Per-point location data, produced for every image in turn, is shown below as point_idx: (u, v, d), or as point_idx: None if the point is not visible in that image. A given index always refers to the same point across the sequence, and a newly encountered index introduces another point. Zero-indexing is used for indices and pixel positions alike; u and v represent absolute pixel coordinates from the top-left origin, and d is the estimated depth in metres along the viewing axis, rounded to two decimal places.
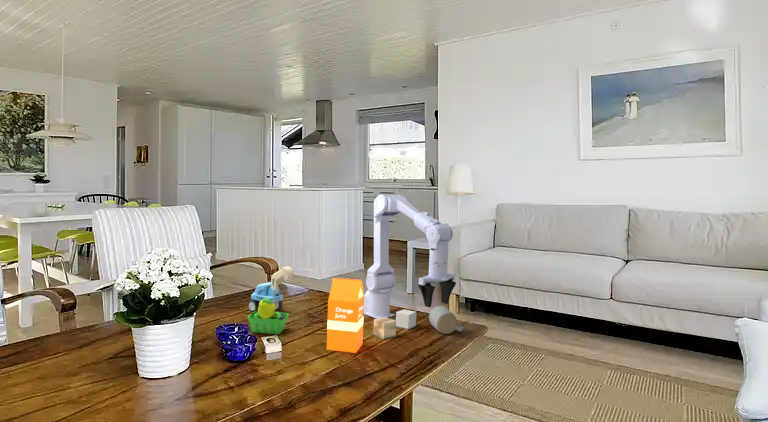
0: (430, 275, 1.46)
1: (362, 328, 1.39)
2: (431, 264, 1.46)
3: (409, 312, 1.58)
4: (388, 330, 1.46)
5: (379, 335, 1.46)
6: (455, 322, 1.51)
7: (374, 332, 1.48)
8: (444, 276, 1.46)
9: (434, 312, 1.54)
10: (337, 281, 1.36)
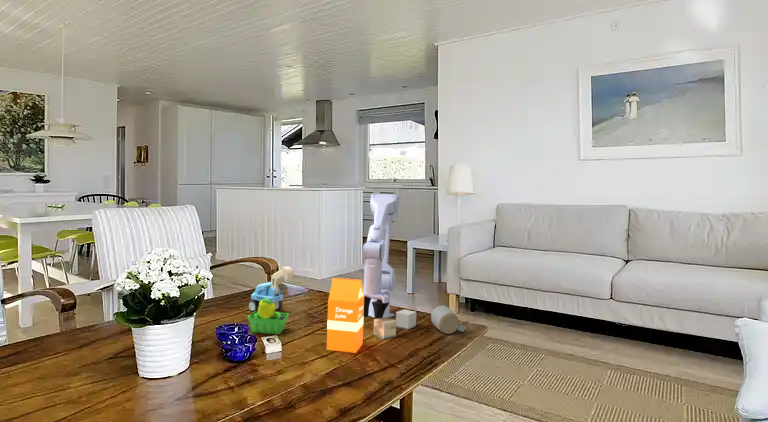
0: None
1: (362, 328, 1.39)
2: None
3: (409, 312, 1.58)
4: (388, 330, 1.45)
5: (379, 335, 1.46)
6: (457, 322, 1.51)
7: (374, 332, 1.48)
8: (365, 292, 1.50)
9: (436, 312, 1.54)
10: (337, 281, 1.36)
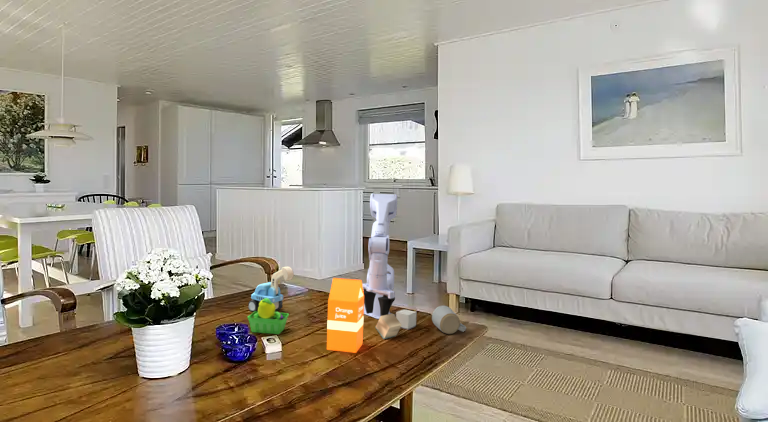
0: None
1: (362, 328, 1.39)
2: None
3: (409, 312, 1.58)
4: (391, 332, 1.45)
5: (381, 332, 1.45)
6: (458, 322, 1.51)
7: (377, 326, 1.47)
8: (371, 287, 1.48)
9: (437, 312, 1.54)
10: (337, 281, 1.36)
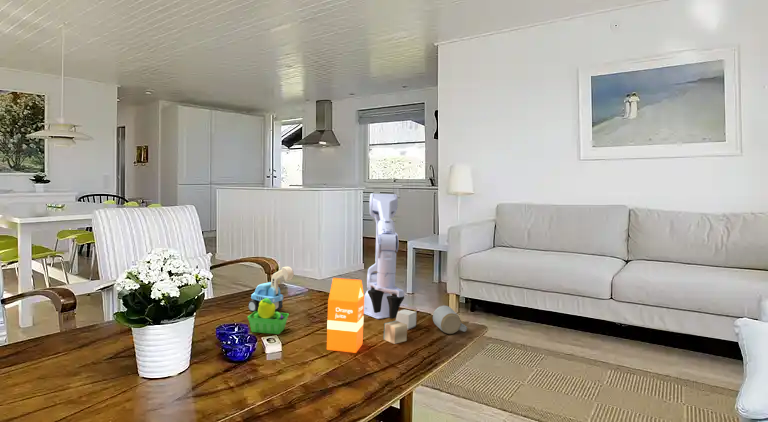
0: None
1: (362, 328, 1.39)
2: None
3: (409, 312, 1.58)
4: None
5: (385, 333, 1.44)
6: (459, 322, 1.51)
7: (386, 325, 1.43)
8: (379, 286, 1.45)
9: (438, 312, 1.55)
10: (337, 281, 1.36)
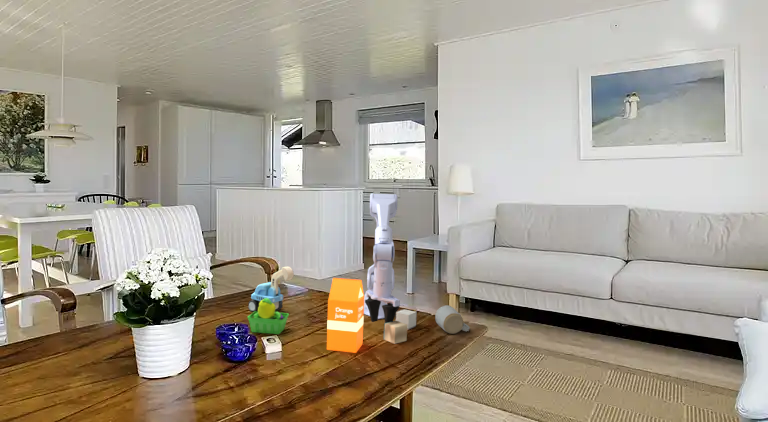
0: None
1: (362, 328, 1.39)
2: None
3: (409, 312, 1.58)
4: None
5: (385, 333, 1.44)
6: (461, 322, 1.51)
7: (386, 325, 1.43)
8: (375, 295, 1.47)
9: (440, 312, 1.55)
10: (337, 281, 1.36)
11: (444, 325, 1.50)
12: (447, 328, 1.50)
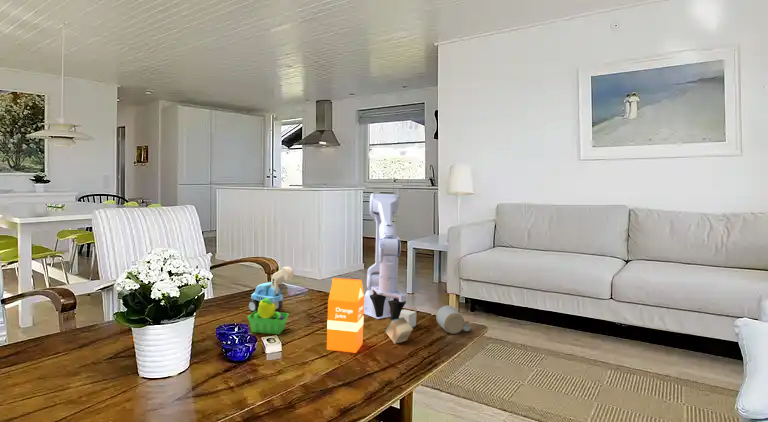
0: None
1: (362, 328, 1.39)
2: None
3: (409, 312, 1.58)
4: None
5: (389, 328, 1.42)
6: (462, 322, 1.51)
7: (392, 323, 1.41)
8: (381, 290, 1.44)
9: (441, 312, 1.55)
10: (337, 281, 1.36)
11: (445, 325, 1.50)
12: (448, 328, 1.50)
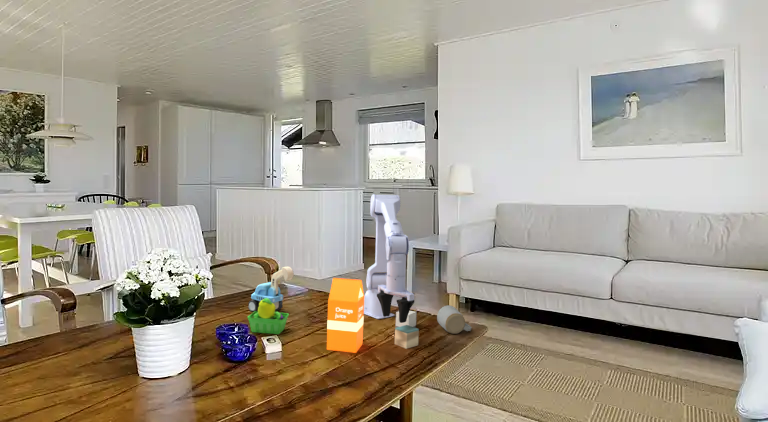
0: None
1: (362, 328, 1.39)
2: None
3: (409, 312, 1.58)
4: None
5: (399, 331, 1.39)
6: (463, 322, 1.51)
7: (405, 335, 1.37)
8: (388, 289, 1.42)
9: (442, 312, 1.55)
10: (337, 281, 1.36)
11: (446, 325, 1.50)
12: (449, 328, 1.50)
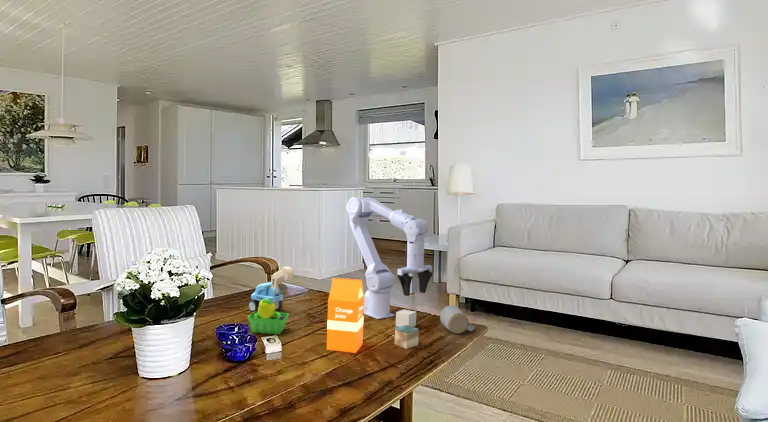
0: (408, 266, 1.58)
1: (362, 328, 1.39)
2: (409, 256, 1.58)
3: (409, 312, 1.58)
4: None
5: (399, 331, 1.39)
6: (466, 322, 1.52)
7: (405, 335, 1.37)
8: (421, 267, 1.58)
9: (445, 312, 1.55)
10: (337, 281, 1.36)
11: (449, 325, 1.51)
12: (452, 328, 1.51)
